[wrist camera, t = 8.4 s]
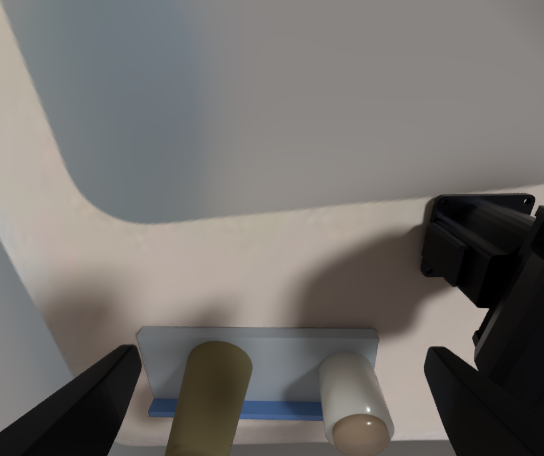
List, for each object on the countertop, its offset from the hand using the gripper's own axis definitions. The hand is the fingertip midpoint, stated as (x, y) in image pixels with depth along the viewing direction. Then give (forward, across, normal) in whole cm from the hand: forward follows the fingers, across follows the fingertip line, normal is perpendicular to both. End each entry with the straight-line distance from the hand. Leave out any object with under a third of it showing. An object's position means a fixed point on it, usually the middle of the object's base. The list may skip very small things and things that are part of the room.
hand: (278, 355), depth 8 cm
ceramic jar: (+12, -5, +15) cm, 20 cm away
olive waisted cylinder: (+12, +6, +14) cm, 20 cm away
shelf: (+13, +3, +15) cm, 20 cm away
